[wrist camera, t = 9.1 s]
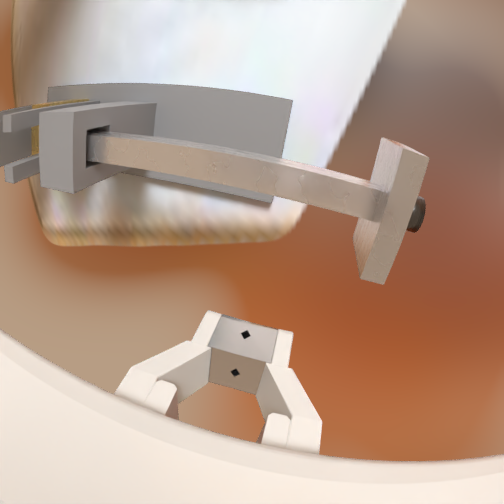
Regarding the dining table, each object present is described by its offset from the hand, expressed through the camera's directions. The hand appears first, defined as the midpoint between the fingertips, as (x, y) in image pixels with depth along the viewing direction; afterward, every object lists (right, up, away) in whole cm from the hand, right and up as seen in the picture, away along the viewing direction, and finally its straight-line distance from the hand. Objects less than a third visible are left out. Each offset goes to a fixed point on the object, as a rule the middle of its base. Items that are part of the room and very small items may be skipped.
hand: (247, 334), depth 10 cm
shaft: (-2, +10, +12) cm, 15 cm away
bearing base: (-11, +16, +19) cm, 27 cm away
